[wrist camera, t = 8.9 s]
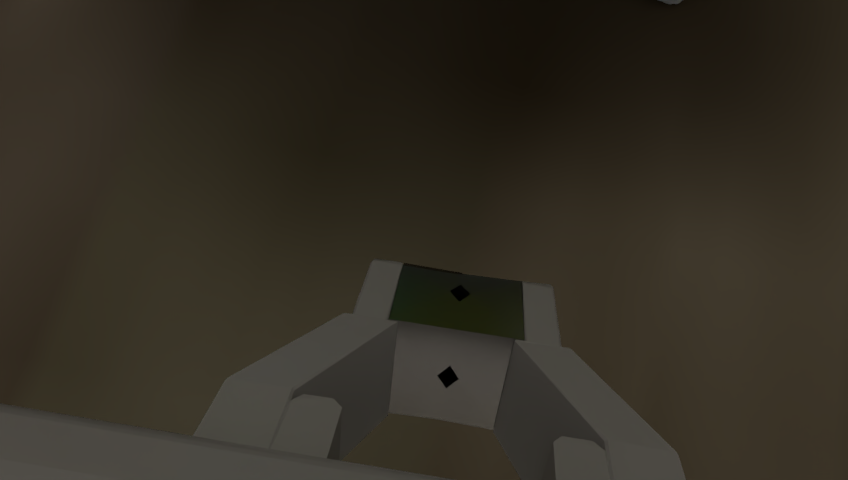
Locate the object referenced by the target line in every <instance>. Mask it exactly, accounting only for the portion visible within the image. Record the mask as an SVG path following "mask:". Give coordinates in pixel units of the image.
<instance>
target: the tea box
mask: <svg viewBox="0 0 848 480" xmlns="http://www.w3.org/2000/svg"><path fill="white" fill-rule="evenodd" d="M659 1H661V2H664V3H667V4H678V3H680V2H681V1H682V0H659Z"/></svg>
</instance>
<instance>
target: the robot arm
mask: <svg viewBox="0 0 848 480" xmlns="http://www.w3.org/2000/svg"><path fill="white" fill-rule="evenodd" d="M388 413H395V414H403V415H410V416H417V417H425V418H432V419H439V420H445V421H450V422H455V423H461V424H466V425H471V426H476V427H482V428H487V429H492V430H494V431H493V433H494V434H495V436H496V438H497V439H498V441H499V443H500V445H501V446H502V448H503V450H504V451H505V453H506V455H507V456H508V458H509V460H510V462H511V463H512V465H513V467H514V468H515V470H516V472H517V473H518V475H519V477H520V479H521V480H686V478H685V475H684V472H683V469H682V465H681V462H680V459H679V456H678V453H677V452H676V451H675V450H674V449H673V448H672V447H671V446H670V445H669V444H668V443H667V442H666V441H665V440H664V439H663V438H662V437H661V436H660V435H659V434H658V433H657V432H655V431H654V430H653V429H652V428H651V427H650V426H649V425H648V424H647V423H646V422H645V421H644V420H643V419H642V418H641V417H640V416H639V415H638V414H637V413H636V412H635V411H634V410H633V409H632V408H631V407H630V406H629V405H628V404H627V403H626V402H625V401H624V400H623V399H622V398H621V397H620V396H619V395H618V394H617V393H616V392H615V391H614V390H612V389H611V388H610V387H609V386H608V385H607V384H606V383H605V382H604V381H603V380H602V379H601V378H600V377H599V376H598V375H597V374H596V373H595V372H594V371H593V370H592V369H591V368H590V367H589V366H588V365H587V364H586V363H585V362H584V361H583V360H582V359H581V358H580V357H579V356H578V355H577V354H576V353H575V352H574V351H573V350H572V349H570V348H565V347H561V339H560V332H559V325H558V317H557V310H556V303H555V295H554V288H553V287H552V286H551V285H550V284H541V283H532V282H524V281H514V280H506V279H498V278H490V277H483V276H475V275H467V274H462V273H460V272H454V271H448V270H442V269H436V268H431V267H425V266H419V265H413V264H407V263H404V264H403V263H402V262H396V261H389V260H382V259H374V260H373V261H372V262H371V264H370V266H369V269H368V272H367V275H366V277H365V280H364V283H363V286H362V288H361V291H360V294H359V297H358V300H357V302H356V305H355V308H354V311H353V313H352V314H348V313H343V314H341V315H339V316H337V317H335V318H334V319H332V320H330V321H328V322H326V323H325V324H323V325H321V326H319V327H318V328H316V329H314V330H312V331H310V332H309V333H307V334H305V335H303V336H301V337H300V338H298V339H296V340H294V341H292V342H291V343H289V344H287V345H285V346H283V347H282V348H280V349H278V350H276V351H275V352H273V353H271V354H269V355H267V356H266V357H264V358H262V359H260V360H258V361H257V362H255V363H253V364H251V365H249V366H248V367H246V368H244V369H242V370H240V371H239V372H237V373H235V374H233V375H232V376H230V377H228V378H226V380H225V381H224V383H223V385H222V386H221V388H220V390H219V392H218V393H217V395H216V397H215V399H214V400H213V402H212V404H211V405H210V407H209V409H208V411H207V412H206V414H205V416H204V418H203V419H202V421H201V423H200V424H199V426H198V428H197V430H196V431H195V433H194V435H193V436H191V435H185V434H179V433H173V432H167V431H161V430H155V429H149V428H143V427H137V426H131V425H125V424H119V423H113V422H107V421H101V420H96V419H90V418H84V417H78V416H72V415H66V414H60V413H54V412H48V411H42V410H36V409H30V408H24V407H18V406H12V405H6V404H0V480H453V479H447V478H441V477H435V476H429V475H423V474H417V473H411V472H405V471H399V470H393V469H387V468H381V467H375V466H369V465H363V464H357V463H351V462H345V461H341V460H342V459H343V458H344V457H345V456H346V455H347V454H348V453H349V452H350V451H351V450H352V449H353V448H355V447H356V446H357V445H358V444H359V443H360V442H361V441H362V440H363V439H364V438H365V437H366V436H367V435H368V434H369V433H370V432H371V431H372V430H373V429H374V428H375V427H376V426H377V425H378V424H379V423H380V422H382V421H383V420H384V419H385V418H386V417H387V416H388Z"/></svg>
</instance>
